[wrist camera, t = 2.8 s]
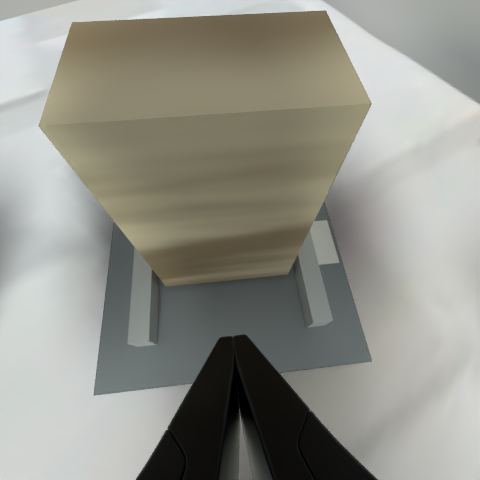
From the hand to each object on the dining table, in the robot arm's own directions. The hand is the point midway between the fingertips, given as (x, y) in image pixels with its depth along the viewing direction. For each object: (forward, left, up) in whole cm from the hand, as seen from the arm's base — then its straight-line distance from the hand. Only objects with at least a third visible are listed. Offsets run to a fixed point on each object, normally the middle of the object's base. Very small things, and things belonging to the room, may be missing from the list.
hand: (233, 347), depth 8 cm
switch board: (+7, -7, -8) cm, 13 cm away
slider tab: (+4, -4, -6) cm, 8 cm away
